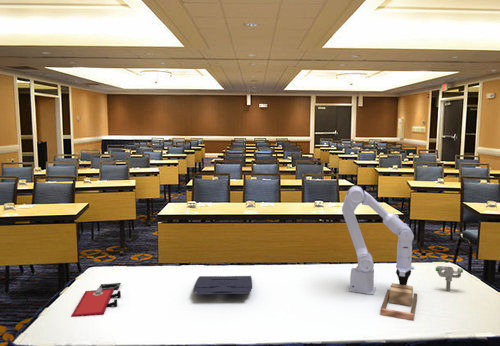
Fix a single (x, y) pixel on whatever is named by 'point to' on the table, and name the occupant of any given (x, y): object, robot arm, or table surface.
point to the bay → (398, 313)
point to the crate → (401, 294)
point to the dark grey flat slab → (223, 285)
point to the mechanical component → (448, 274)
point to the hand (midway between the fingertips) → (403, 287)
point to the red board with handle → (97, 300)
